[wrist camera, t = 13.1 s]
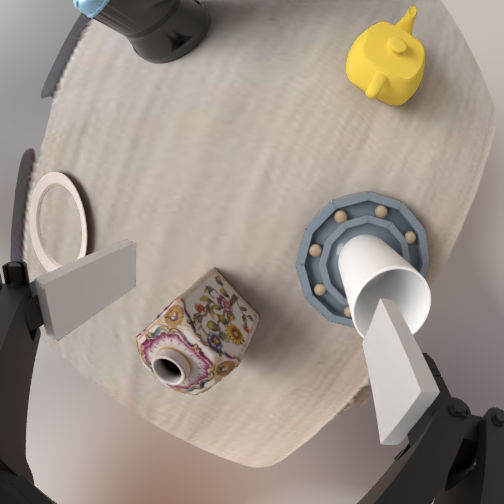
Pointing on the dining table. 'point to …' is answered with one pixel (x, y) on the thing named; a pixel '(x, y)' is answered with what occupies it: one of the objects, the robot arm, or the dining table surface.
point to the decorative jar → (198, 336)
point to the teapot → (387, 61)
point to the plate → (34, 211)
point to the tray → (338, 234)
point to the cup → (381, 282)
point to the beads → (340, 218)
